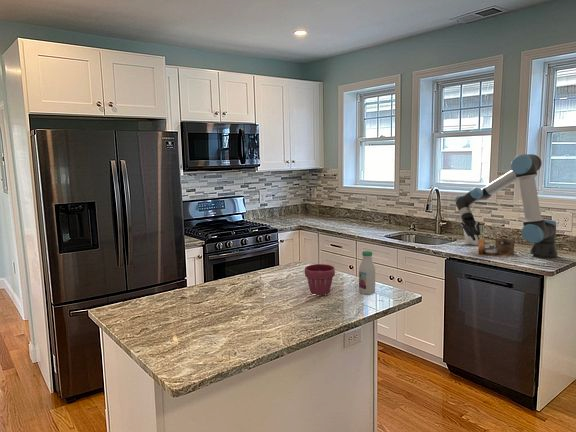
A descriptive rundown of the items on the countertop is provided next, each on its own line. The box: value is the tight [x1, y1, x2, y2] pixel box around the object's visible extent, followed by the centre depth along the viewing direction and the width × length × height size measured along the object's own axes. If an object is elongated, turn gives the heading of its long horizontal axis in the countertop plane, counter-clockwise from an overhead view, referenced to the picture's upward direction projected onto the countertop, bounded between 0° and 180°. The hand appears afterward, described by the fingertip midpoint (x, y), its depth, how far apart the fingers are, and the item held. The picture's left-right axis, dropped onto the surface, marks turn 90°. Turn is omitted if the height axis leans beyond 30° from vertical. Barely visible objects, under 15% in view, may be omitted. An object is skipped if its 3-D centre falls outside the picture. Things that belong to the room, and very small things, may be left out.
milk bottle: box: [358, 250, 376, 295], centre depth 211 cm, size 8×8×20 cm
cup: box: [462, 228, 476, 245], centre depth 316 cm, size 10×10×11 cm
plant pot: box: [304, 263, 336, 295], centre depth 211 cm, size 14×14×13 cm
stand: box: [467, 237, 515, 259], centre depth 283 cm, size 24×17×10 cm
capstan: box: [477, 237, 499, 255], centre depth 283 cm, size 11×12×10 cm
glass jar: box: [475, 221, 486, 238], centre depth 327 cm, size 10×10×14 cm
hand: (477, 244), depth 286 cm, fingers closed
